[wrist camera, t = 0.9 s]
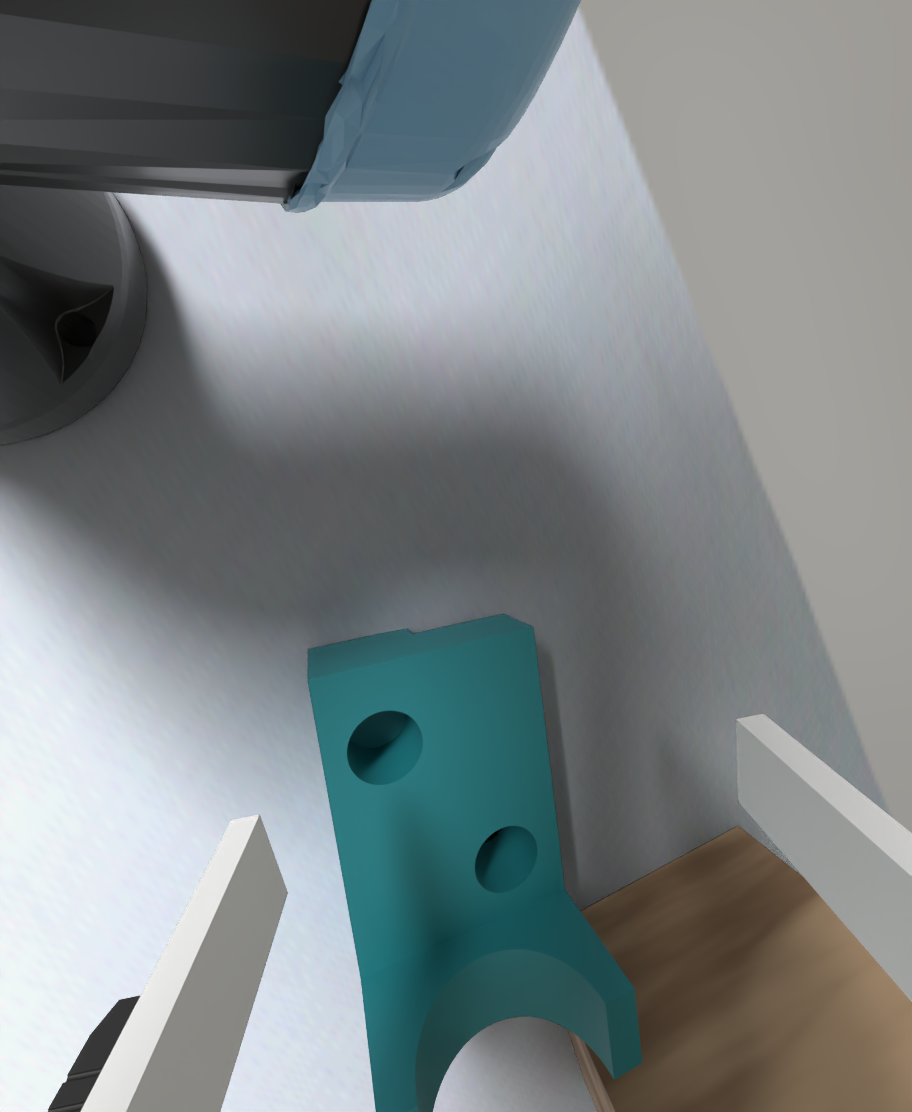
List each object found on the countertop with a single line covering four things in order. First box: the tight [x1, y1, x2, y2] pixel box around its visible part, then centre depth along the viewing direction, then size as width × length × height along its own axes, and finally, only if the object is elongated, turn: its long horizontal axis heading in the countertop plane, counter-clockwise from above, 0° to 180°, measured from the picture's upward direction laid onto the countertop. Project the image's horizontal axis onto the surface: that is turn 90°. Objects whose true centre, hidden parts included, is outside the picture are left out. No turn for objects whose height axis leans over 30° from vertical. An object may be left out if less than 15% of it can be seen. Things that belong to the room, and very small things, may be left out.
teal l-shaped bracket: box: [308, 614, 642, 1112], centre depth 22 cm, size 18×11×10 cm, turn 8°
